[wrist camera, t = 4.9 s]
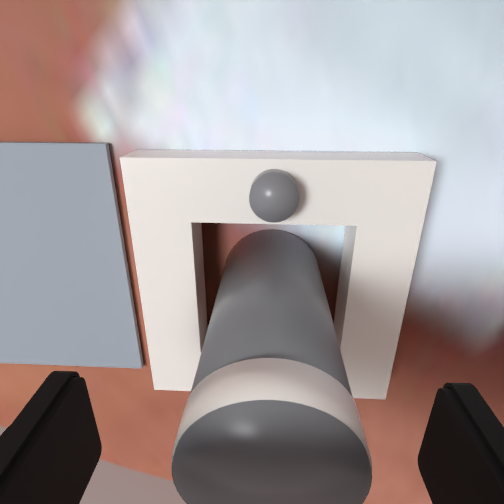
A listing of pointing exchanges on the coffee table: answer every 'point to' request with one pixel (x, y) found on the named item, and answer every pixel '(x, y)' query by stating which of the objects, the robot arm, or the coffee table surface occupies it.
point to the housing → (277, 212)
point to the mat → (63, 259)
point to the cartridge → (271, 389)
